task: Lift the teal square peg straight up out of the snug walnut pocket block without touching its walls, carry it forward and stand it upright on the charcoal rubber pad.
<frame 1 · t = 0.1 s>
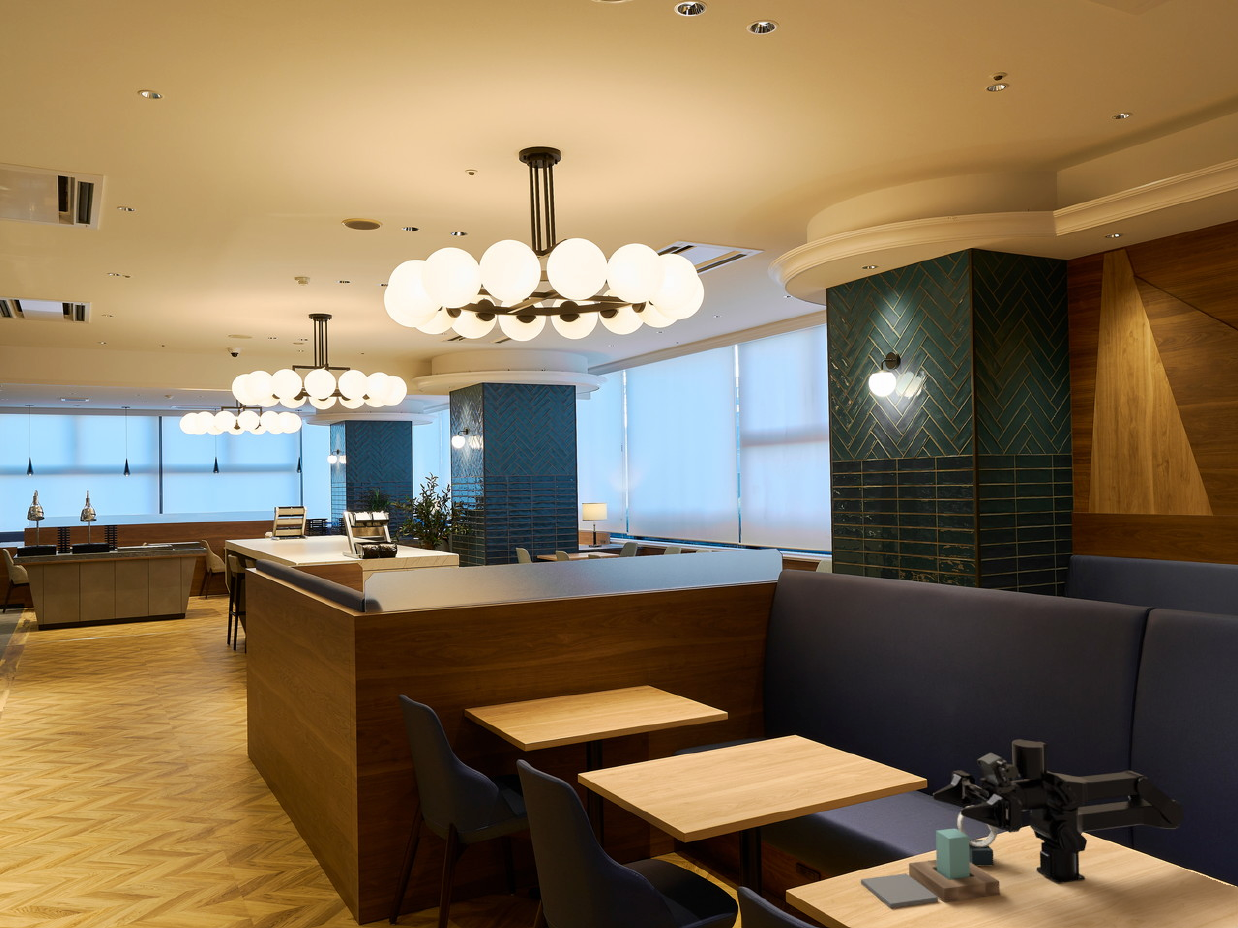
hand: (946, 804, 178), 17 cm above the table, tool horizontal, fingers open, 9 cm apart
pocket: (953, 884, 180), on the table
pad: (898, 891, 177), on the table
watch: (978, 860, 192), on the table
peg: (952, 859, 180), in the pocket
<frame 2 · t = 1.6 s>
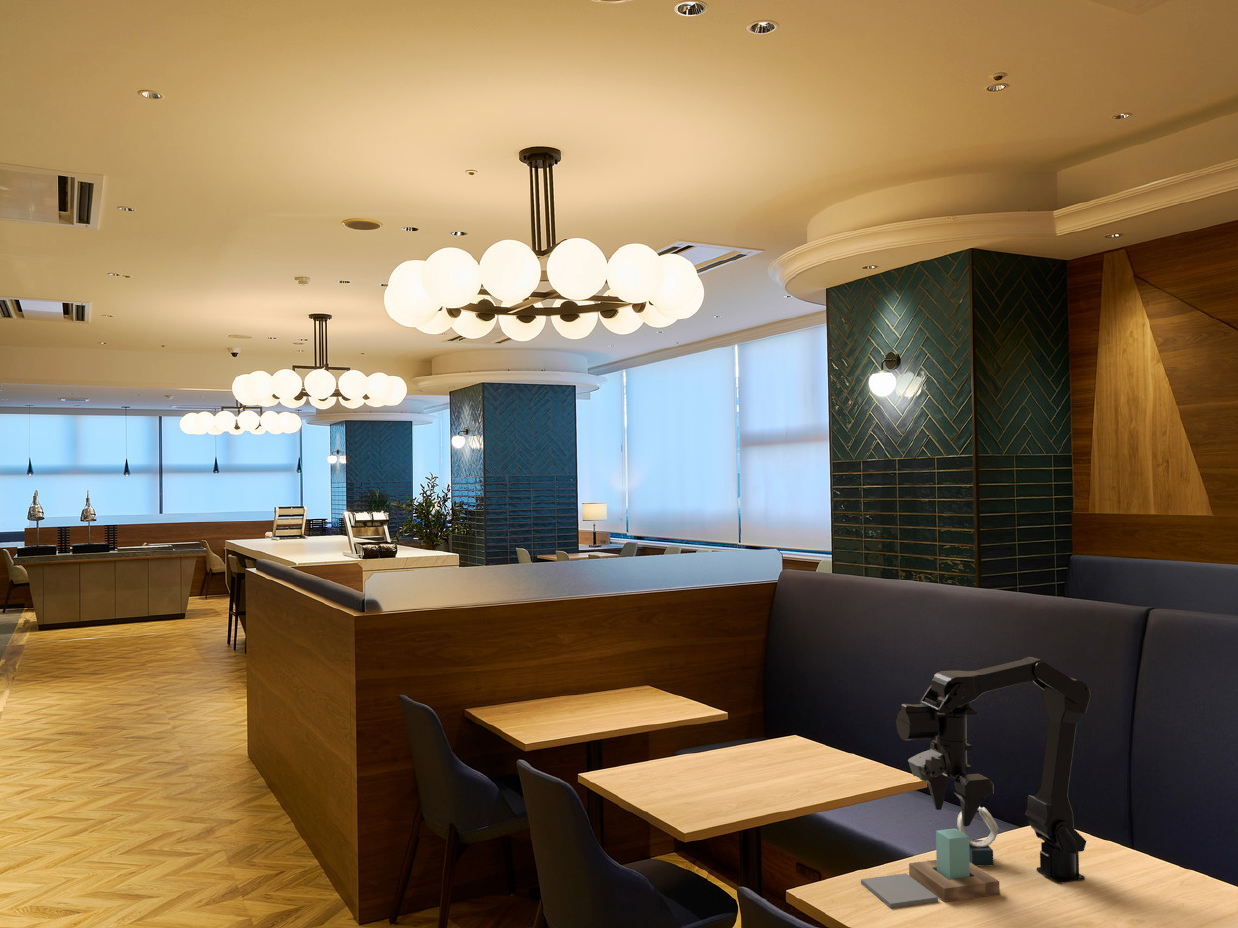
hand: (952, 817, 180), 13 cm above the table, tool pointing down, fingers open, 9 cm apart
nothing on the table moved.
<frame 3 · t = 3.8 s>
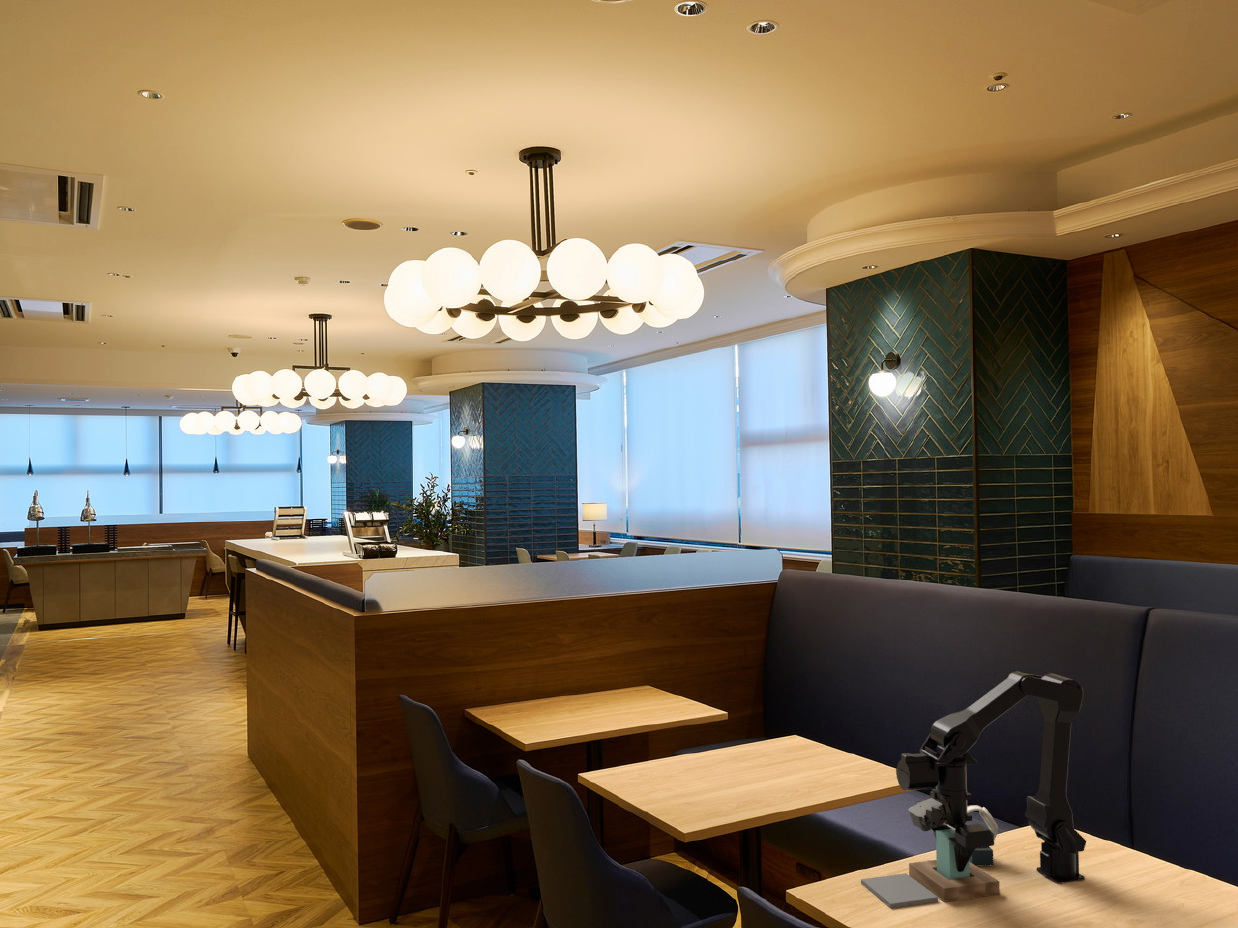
hand: (953, 866, 180), 4 cm above the table, tool pointing down, fingers closed on peg, 4 cm apart
peg: (952, 859, 180), in the pocket, touching gripper
everything else where it was.
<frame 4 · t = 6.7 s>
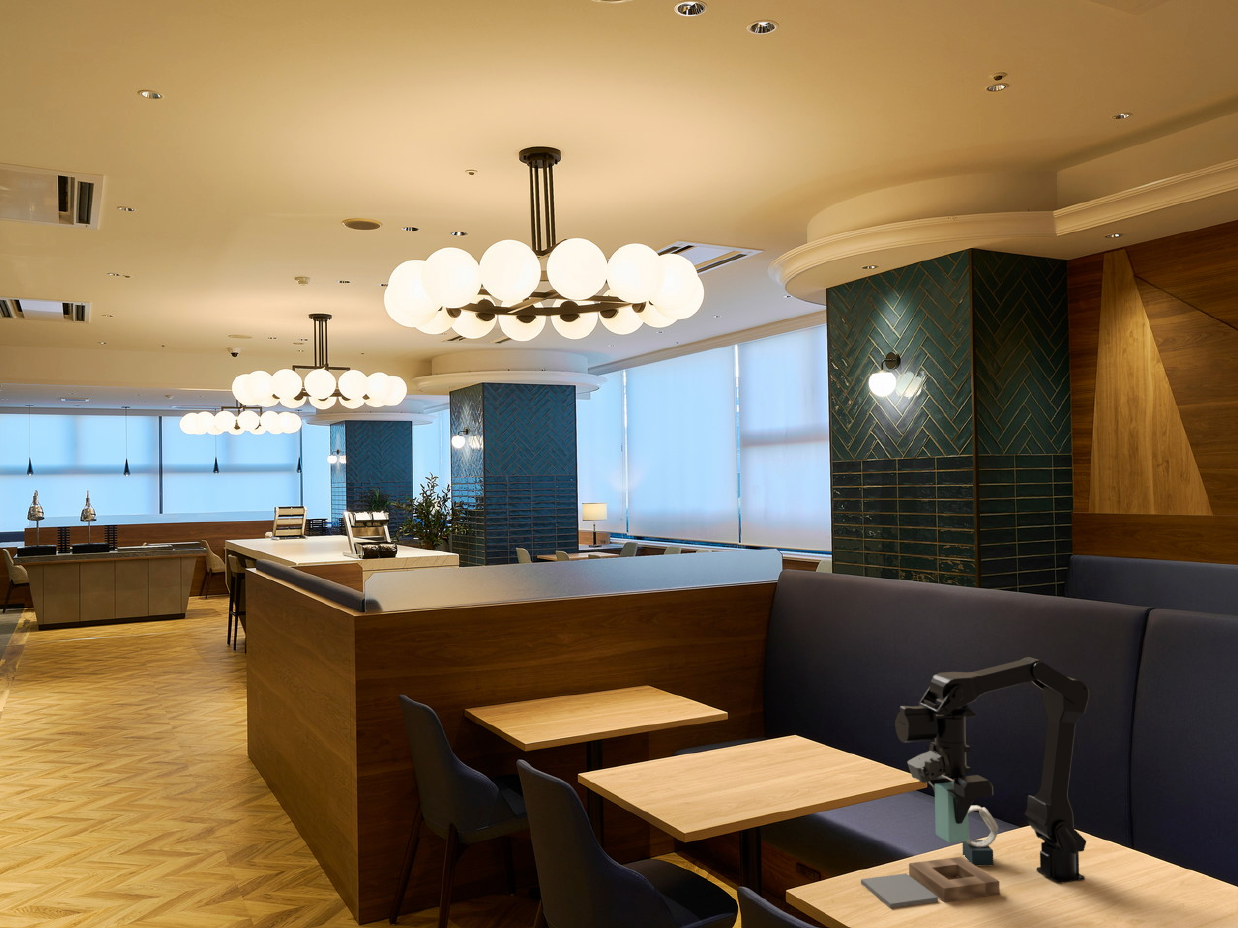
hand: (951, 819, 180), 13 cm above the table, tool pointing down, fingers closed on peg, 4 cm apart
peg: (951, 811, 180), point 14 cm above the table, touching gripper
everything else where it was.
when the fingers open (5 cm above the table, at t = 9.9 s): peg drops 1 cm, resting on pad.
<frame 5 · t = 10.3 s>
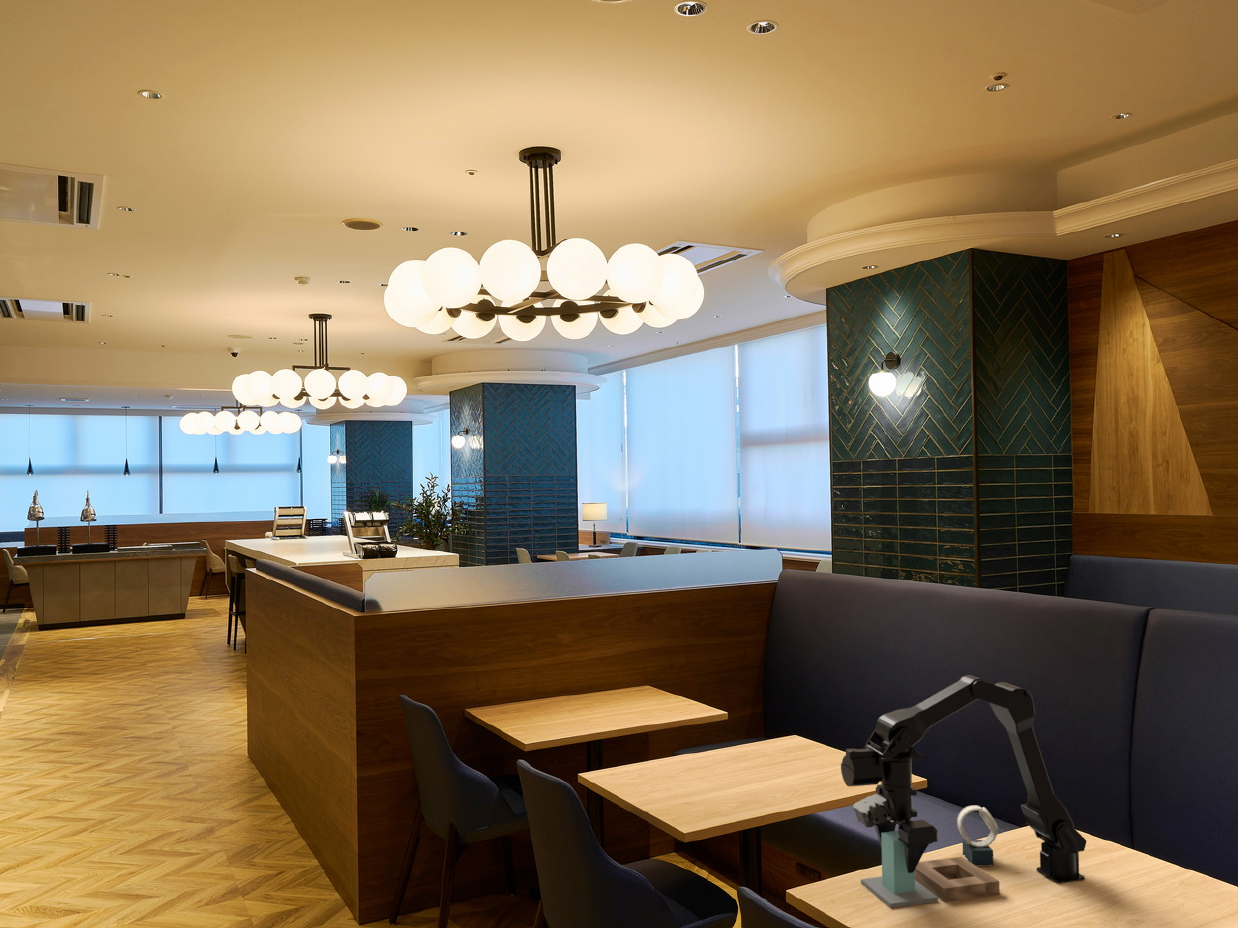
hand: (898, 863, 177), 5 cm above the table, tool pointing down, fingers open, 8 cm apart
peg: (898, 861, 177), on the pad, point 6 cm above the table
everything else where it was.
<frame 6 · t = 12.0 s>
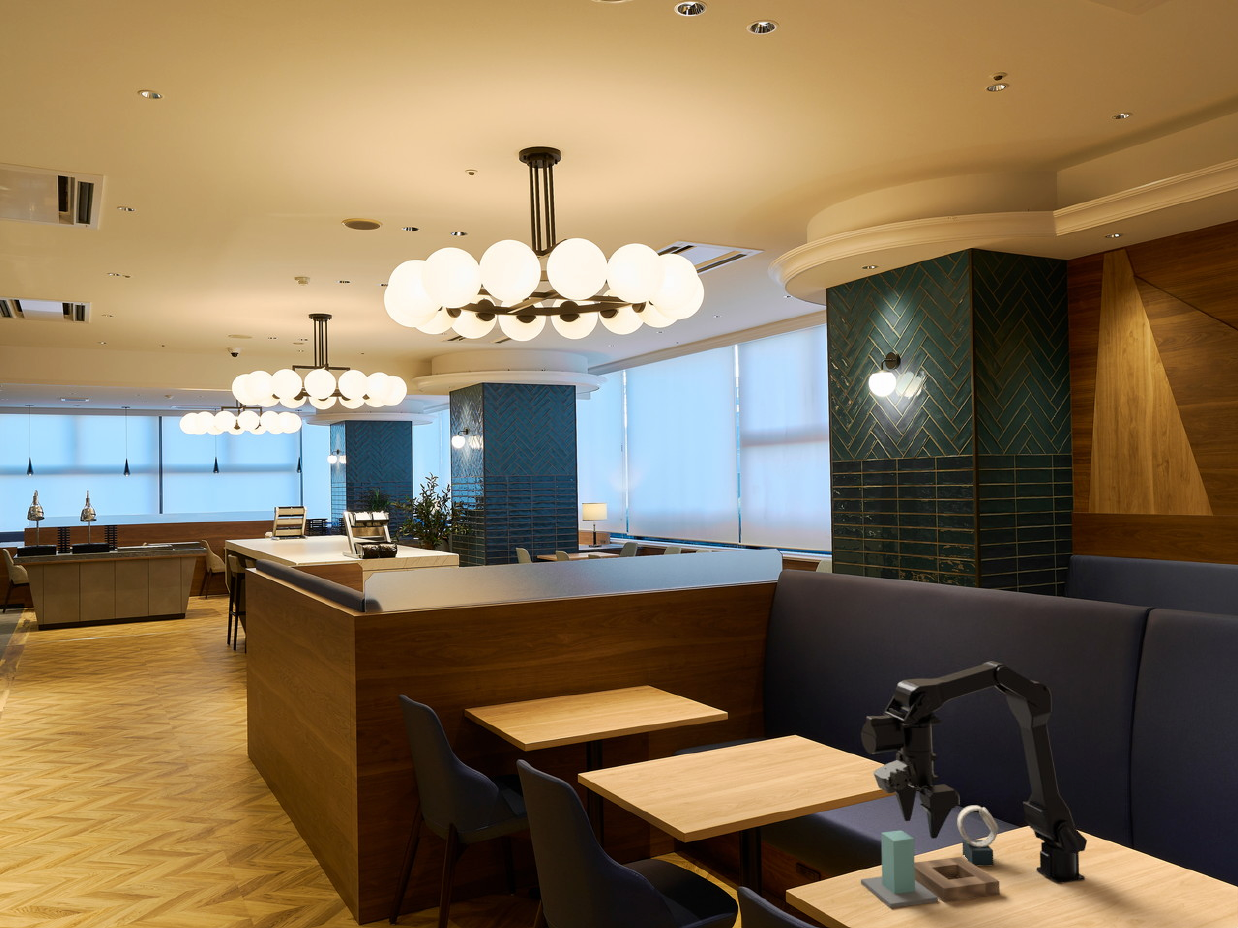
hand: (920, 829, 177), 12 cm above the table, tool pointing down, fingers open, 9 cm apart
nothing on the table moved.
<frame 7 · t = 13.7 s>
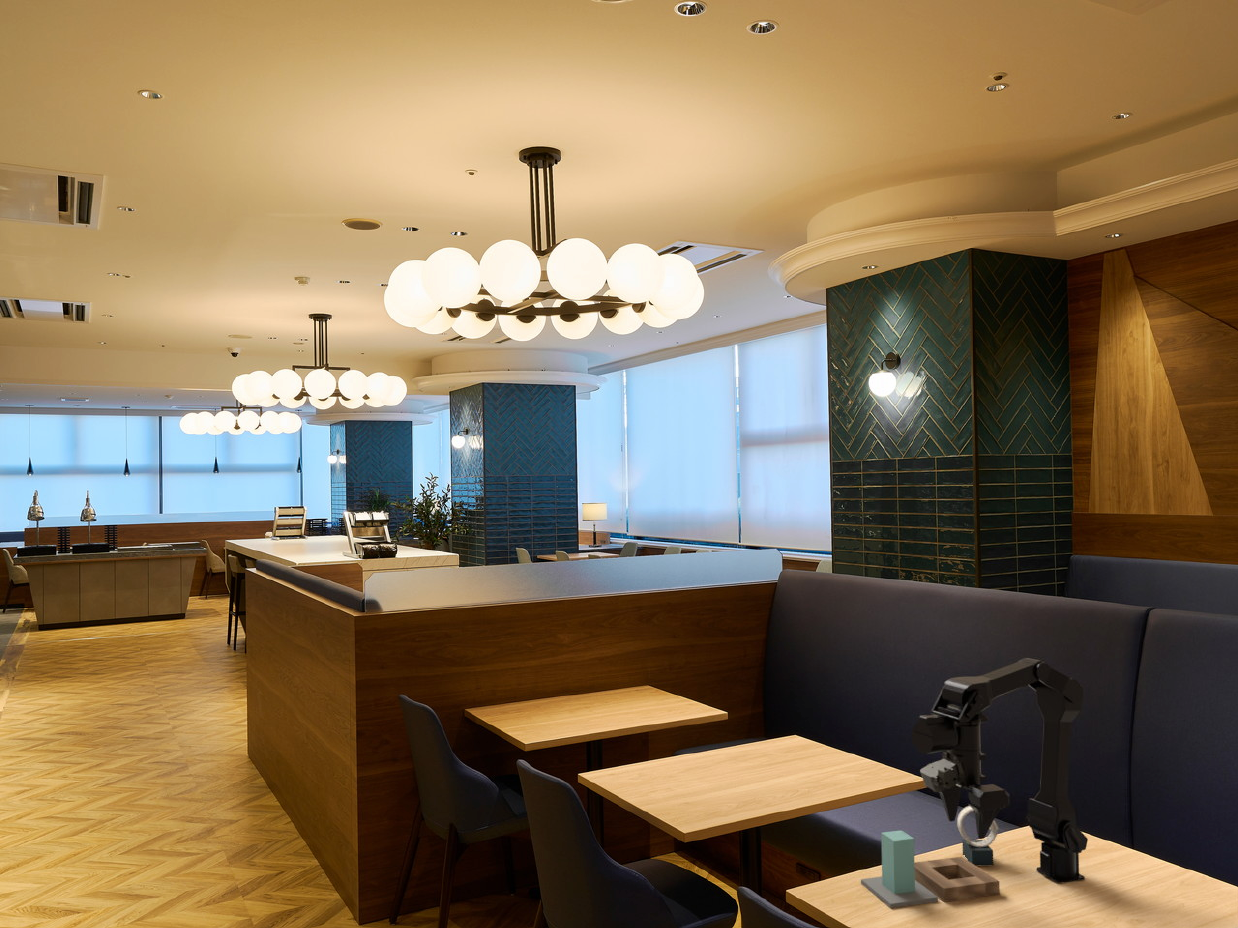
hand: (966, 829, 174), 13 cm above the table, tool pointing down, fingers open, 9 cm apart
nothing on the table moved.
at the end: peg 0.0 cm off-centre on the pad, point 5.8 cm above the pad's base; peg tilted 0°; the gripper is holding nothing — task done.
